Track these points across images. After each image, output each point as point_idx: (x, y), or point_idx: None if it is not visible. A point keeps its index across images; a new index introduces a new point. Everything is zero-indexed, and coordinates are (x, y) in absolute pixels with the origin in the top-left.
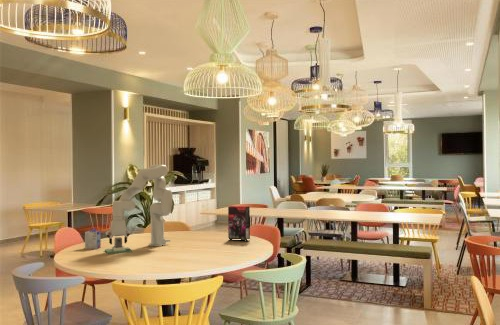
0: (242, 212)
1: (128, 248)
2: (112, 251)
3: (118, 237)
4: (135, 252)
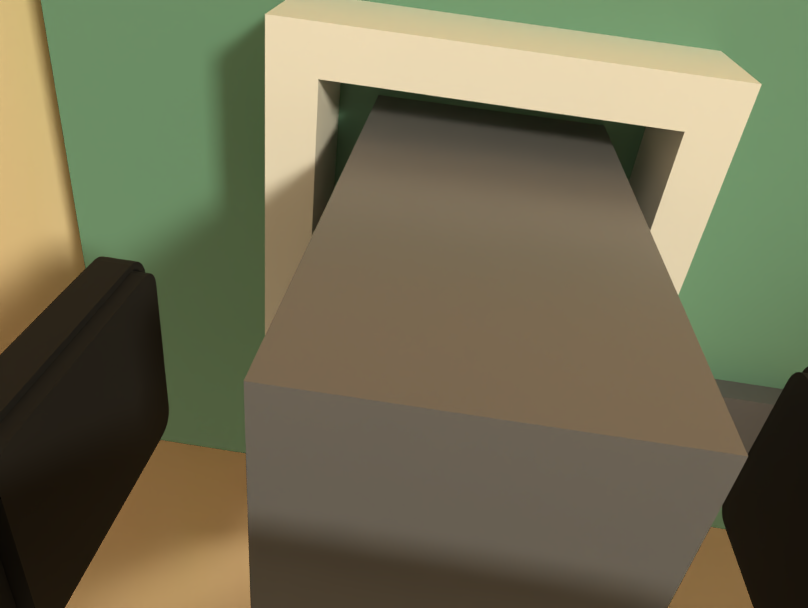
0: None
1: (753, 413)
2: (236, 428)
3: (554, 473)
4: (742, 580)
